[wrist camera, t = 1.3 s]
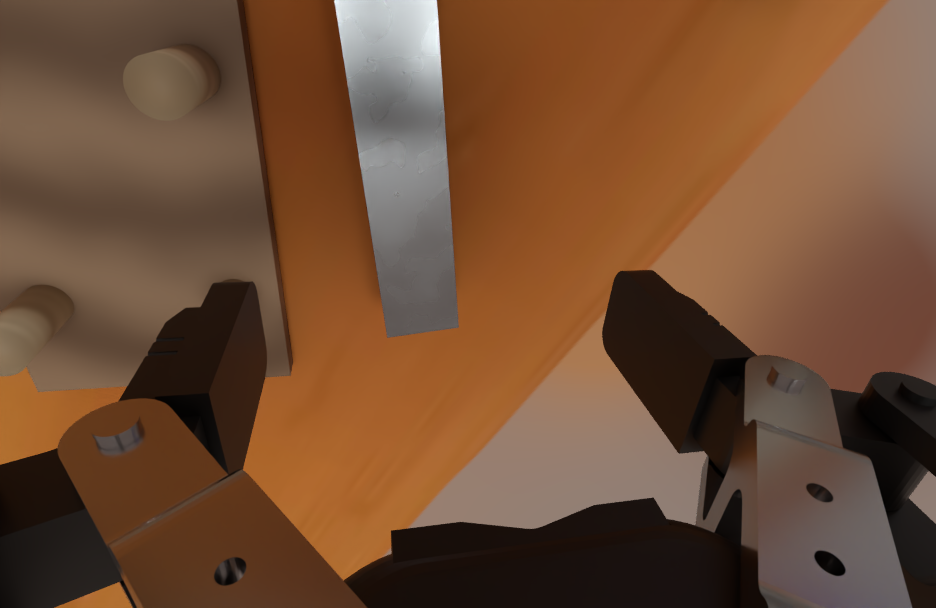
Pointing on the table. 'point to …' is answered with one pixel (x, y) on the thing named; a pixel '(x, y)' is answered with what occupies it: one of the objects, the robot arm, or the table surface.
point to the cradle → (126, 182)
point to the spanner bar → (402, 156)
